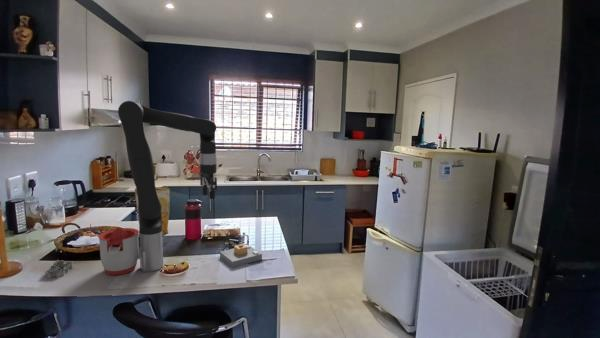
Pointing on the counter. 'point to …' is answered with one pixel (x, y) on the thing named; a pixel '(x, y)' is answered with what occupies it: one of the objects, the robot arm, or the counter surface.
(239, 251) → the plug
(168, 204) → the pancake mix bag
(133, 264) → the citrus juicer
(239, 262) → the socket plate
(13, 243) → the counter surface
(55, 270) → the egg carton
